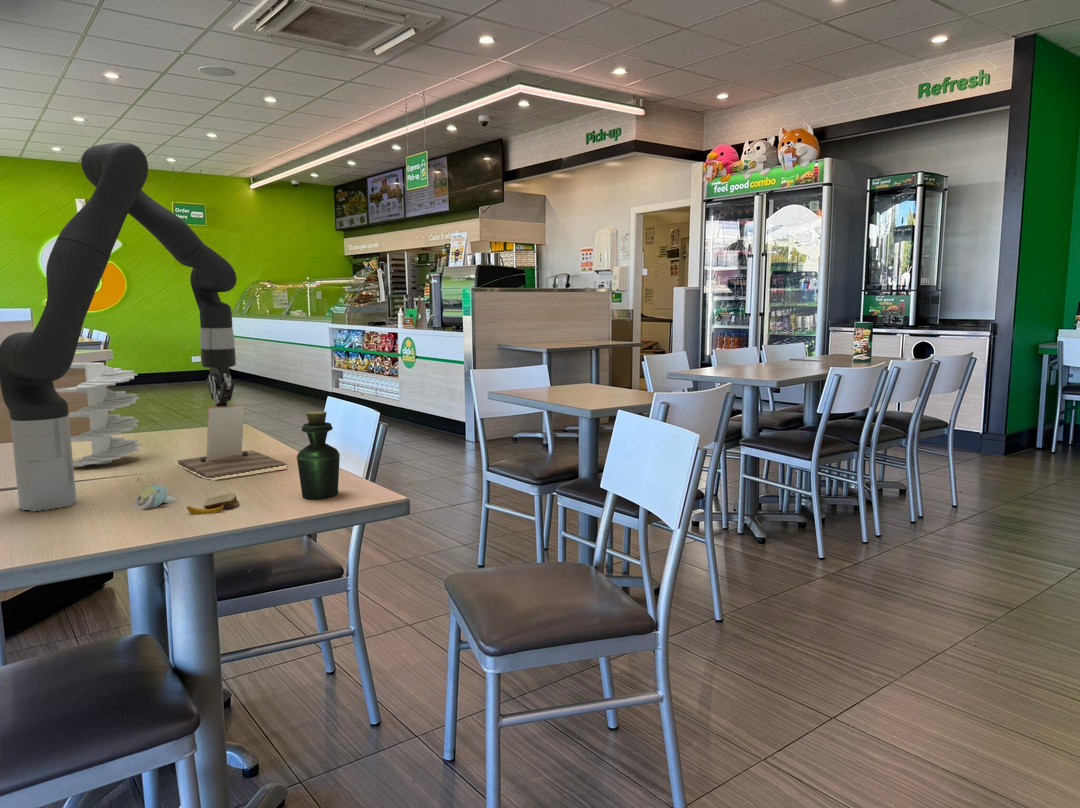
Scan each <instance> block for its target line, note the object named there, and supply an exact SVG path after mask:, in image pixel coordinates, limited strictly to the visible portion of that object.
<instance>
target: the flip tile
mask: <svg viewBox="0 0 1080 808" xmlns="http://www.w3.org/2000/svg"><path fill="white" fill-rule="evenodd" d="M244 412H245V405H244V404H234V405H227V406H221V407H216V406H212V407H207V437H206V438H207V441H206V456H207V458H208V459H210V458H217V457H225V456H232V455H239V454H242V451H243V437H244V436H243V434H244V433H243V432H244V416H245V413H244Z"/></svg>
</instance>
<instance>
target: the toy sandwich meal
mask: <svg viewBox="0 0 1080 808" xmlns="http://www.w3.org/2000/svg"><path fill="white" fill-rule="evenodd" d="M239 507H240V501H239V500H238V499H237V494H236V493H235V492H229V493H226V494H220V495H216V496H212V497H211V496H210V497H208V498H206V500H205V503H204V508H198V507H193V506H190V505H187V507H186V509H187V511H188V513H189V514H190V515H191V516H193V515H196V516H197V515H210V514H219V513H221V512H222V510H235V509H237V508H239Z"/></svg>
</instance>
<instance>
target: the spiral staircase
mask: <svg viewBox="0 0 1080 808" xmlns="http://www.w3.org/2000/svg"><path fill="white" fill-rule="evenodd" d="M69 369H75V370H76V369H83V370H84V371H85V374H84V375H85V382H79V384H77V385H76V386H71V387H65V388H54V389H55V390H56V392H57V393H61V394H62V393H64V394H65V393H79V394H80V393H81V394H82V393H83V394H86V395H87V406H84V407H81V408H80V409H79V410H75V411H71V412H70V411H69V414H68V415H69V418H88V419H89V429H90V431H89V430H88V431H83V433H80V434H79V435H75V436H71V443H73V442H74V443H75V442H76V443H78V442H91V452H92V453H91V454H90V455H85V456H83V457H82V458H81V459H78V460H75V461H74V460H73V467H85V466H87V465H94V466H95V465H97V466H99V465H100V466H101V464H102V465H108V463H109V464H111V462H112V463H113V461H114V460H120V459H121V458H122V457H126V456H129V455H131V454H133V453H134V452H139V451H140V450H139V447H140V446H141V447H142V443H140V442H139V443H138V439H125V436H122V437H121V436H119V437H117V436H116V435H121V434H122V432H128V431H131V430H133V429H134V428H137V427H139V426H138V425H139V424H137V423H140V420H139V419H135V416H121V414H119V413H117V414H110V413H109V412H111V411H116V409H121V408H124V407H130V406H131V405H132V404H133V405H134V404H136V402H137V400H141V398H140V397H138V394H137V393H126V392H127V391H125V390H123V391H121V390H120V391H114V390H112V389H110V388H108V389H107V387H110V386H116V384H120V383H126V382H130V380H135V376H138V373H135V370H128V369H127V370H126V369H125V370H122V367H109V365H105V364H104V362H75V363H73V362H72V364H71V366H70V368H69ZM113 436H116V437H113ZM134 454H135V453H134Z"/></svg>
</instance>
